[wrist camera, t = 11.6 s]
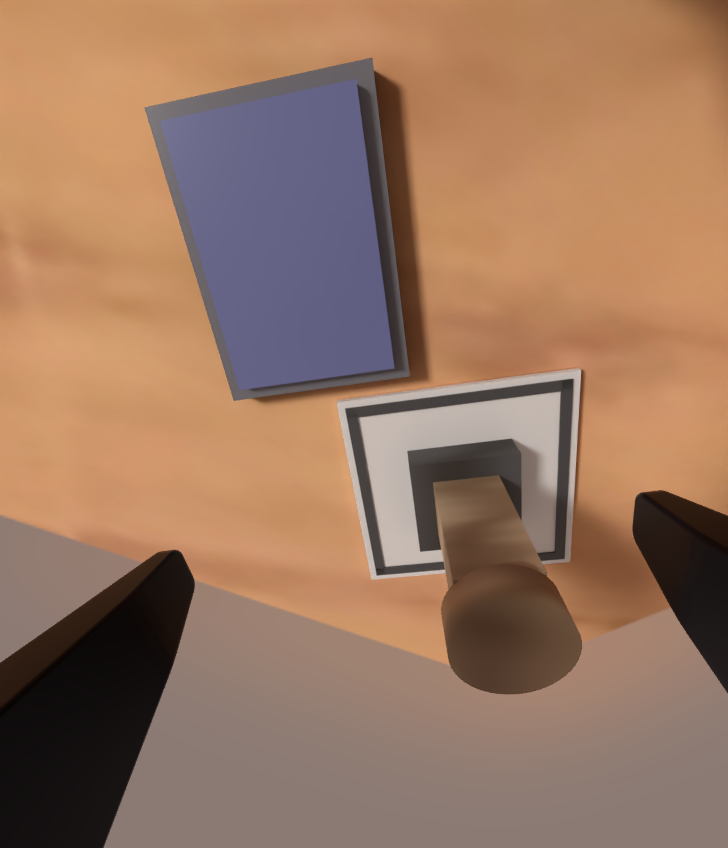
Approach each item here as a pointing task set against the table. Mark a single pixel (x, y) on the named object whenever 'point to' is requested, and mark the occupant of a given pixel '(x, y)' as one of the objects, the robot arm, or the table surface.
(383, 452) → the marked card
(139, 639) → the robot arm
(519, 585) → the stamp
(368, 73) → the ink pad
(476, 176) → the table surface
